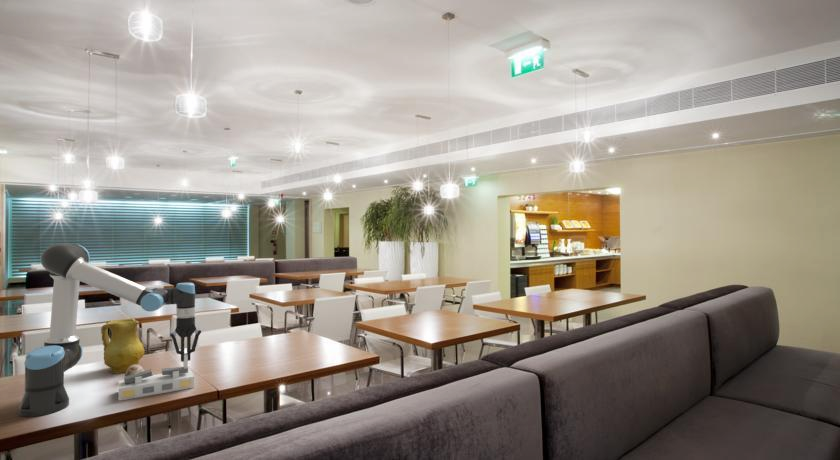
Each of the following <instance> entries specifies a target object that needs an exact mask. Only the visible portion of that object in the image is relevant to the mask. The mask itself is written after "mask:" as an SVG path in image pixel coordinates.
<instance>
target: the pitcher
mask: <svg viewBox="0 0 840 460" xmlns="http://www.w3.org/2000/svg"><path fill="white" fill-rule="evenodd" d="M139 323H140V322H139V321H138V320H136V319H135V318H125V319H124V318H123V319H116V320H115V319H114V320H112V321H108V322H107V323H105V324H103V325H102V326H101V329H100V332H101V333H100V334H101V340H102V345H103V362H104V365H105V366H106V367H108V368H110V369H109V370H108V371H109V373H110V372H111V374H122V373H126V371H127V369H128V368H129V367H130V366H131V365H133V364H137V365H139V363H140V360H141V359H142V358H143V357H144V356H145V348H144V347H145V346H144V345H143V343H142V342H141V340H140V338H139V336H138V325H139ZM108 330H110V332H111V336H110V339H109V333H108V332H109V331H108Z"/></svg>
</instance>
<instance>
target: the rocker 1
mask: <svg viewBox="0 0 840 460" xmlns="http://www.w3.org/2000/svg"><path fill="white" fill-rule="evenodd" d="M152 373H153V372H152V369H147V370H144V371H143V372H139V373H136V374H132V375H129V376H125V375H124V376H123V380H124V381H125V384H126V383H130V382H133V381H135V377H141V376H142V379H143V378H146V377H150V376H152V375H153V374H152Z"/></svg>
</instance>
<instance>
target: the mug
mask: <svg viewBox="0 0 840 460" xmlns="http://www.w3.org/2000/svg"><path fill="white" fill-rule="evenodd" d="M143 371H145V369H144V368H143V367H142V366H141V365H140V364H133V365H131V366H130V367H129V368H128V369H127V371H126V372H124V377H125V376H129V375H132V374H135V373H138V372H143Z"/></svg>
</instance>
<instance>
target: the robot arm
mask: <svg viewBox="0 0 840 460" xmlns="http://www.w3.org/2000/svg"><path fill="white" fill-rule="evenodd" d="M90 259H91V257H90V252H89V251H88V249H87V248H86V247H85V246H83V245H80V244H79V243H72V242H70V243H69V242H68V243H62V244H61V243H59V244H53V245H51V246H48V247H47V248H45V249H44V250H43V252H42V253H41V255H40V263H41V266H42V268H44V269H45V270H46V271H47V272H49V276H50V278H52V279H53V287H52V299H51V301H52V303H51V310H50V311H51V314H50V327H49V336H48V337H47V338H46V339H44V342H43V346H41V347H38V348H34V349H32V350H30V351H29V352H27V354H26V355H25V359H24V395H23V396H22V398H21V401H20V403H19V406H18V416H21V417H26V418H27V417H39V416H44V415H49V414H52V413H53V414H54V413H56V412H60V411H62V410H63V409H65V408H67V407H68V406H69V405H70V397H69V396H68V393H67V390H66V388H65V386H64V385H65V384H64V383H65V377H64V376H65V372H66V371H68V370H70V369H72V368H73V367H74V366H76V365H77V364H78V362H79V361H80V360H81V359H82V357H83V353H84V352H83V347H82V344H80V336H78V335H77V334H76V332H77V323H78V322H77V320H78V305H79V293H80V282H81V283H84V284H86V285H89V286H91V287H94V288H96V289H99V290H101V291H102V292H103V291H104V292H106V293H109V294H110V295H114V296H116V297H118V298H121V299H123V300H125V301H128V302H131V303H133V304H135V305H138V306H140V307H141V308H142V310H144V311H146V312H154V311H158V310H159V309H161V308H162V307H164V306H167V305H168V306H169V305H176V312H175V313H176V314H175V315H176V317H177V318H176V320H175V321H176V323H175V324H176V327H175V329H174V331H173V332H170V333H169V336H170V337H171V338H172V339H171V340H172V342H173V346H174V349H175V353H176V354H177V355H180V362H183V363H182V364H183V366H182V367H184V369H186V368H188V369H189V366H188V364H189V363H188V362H190V361H191V354H192V353H195V351H196V348H197V344H198V341H199V337H200V335H201V333H202V331H201V329H198V328H197V327H196V317H195V314H196V288H195V287H196V286H195V284H194V283H193V282H179V283H176V286H175V287H158V288H157V287H155V288H148V287H146V286H144V285H141V284H139V283H136V282H134V281H132V280H130V279H128V278H125V277H122V276H121V275H118V274H116V273H113V272H110V271H108V270H106V269H103V268H101V267H99V266H97V265H94V264H91V263H89V262H90ZM193 334H195V335H194V337H193V342H192V341H191V336H192V335H193ZM176 336H178V337H180V347H179V345H178V341H177V337H176ZM185 338H186V352H185ZM191 342H192V346H191ZM179 348H180V349H179Z"/></svg>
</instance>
